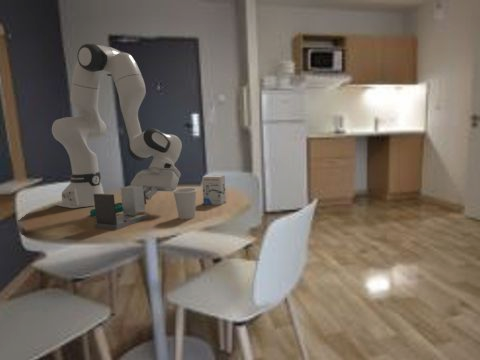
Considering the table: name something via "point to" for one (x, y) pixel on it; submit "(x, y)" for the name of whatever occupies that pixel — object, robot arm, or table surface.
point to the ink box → (214, 189)
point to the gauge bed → (112, 213)
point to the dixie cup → (185, 202)
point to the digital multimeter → (117, 207)
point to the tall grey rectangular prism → (133, 200)
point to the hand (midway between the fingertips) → (146, 198)
